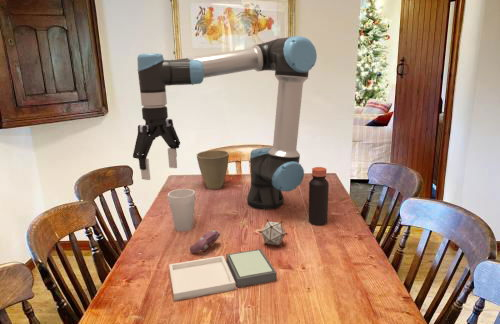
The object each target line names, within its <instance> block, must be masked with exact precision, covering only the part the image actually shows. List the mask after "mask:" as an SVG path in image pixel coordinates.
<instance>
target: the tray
mask: <svg viewBox="0 0 500 324" xmlns="http://www.w3.org/2000/svg"><path fill="white" fill-rule="evenodd" d="M168 267H169V275H170V281H171V287H172V288H171V289H172V294H173V302H176V301H177V302H178V301H182V300H188V299H192V298H197V297H202V296H208V295H213V294H218V293H224V292H229V291H235V290H236V288H237V286H236V282H235V280H234V278H233V275H232V273H231V271H230V269H229V266H228V264H227V261H226V259H225V257H224V255H219V256H213V257H206V258H201V259H195V260H194V259H193V260H187V261H182V262H176V263H170V264H168Z"/></svg>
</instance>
